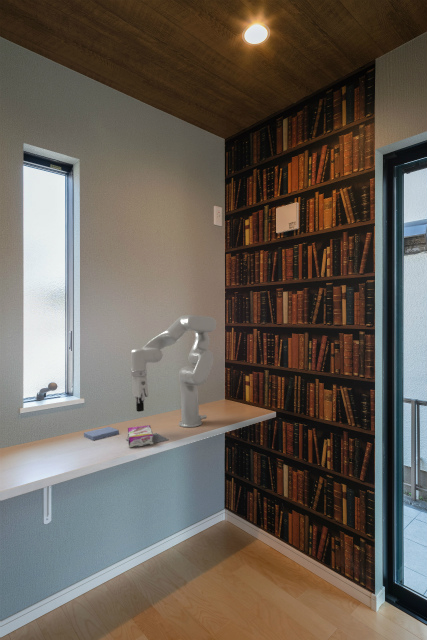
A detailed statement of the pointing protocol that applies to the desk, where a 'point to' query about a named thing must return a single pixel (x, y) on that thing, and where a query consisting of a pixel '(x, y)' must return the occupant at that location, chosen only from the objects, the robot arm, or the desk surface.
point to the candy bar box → (140, 436)
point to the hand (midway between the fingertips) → (140, 410)
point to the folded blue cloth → (101, 433)
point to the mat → (156, 439)
